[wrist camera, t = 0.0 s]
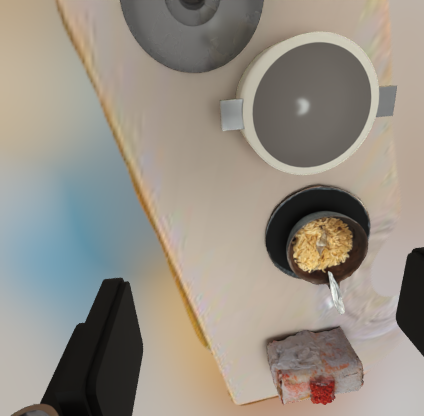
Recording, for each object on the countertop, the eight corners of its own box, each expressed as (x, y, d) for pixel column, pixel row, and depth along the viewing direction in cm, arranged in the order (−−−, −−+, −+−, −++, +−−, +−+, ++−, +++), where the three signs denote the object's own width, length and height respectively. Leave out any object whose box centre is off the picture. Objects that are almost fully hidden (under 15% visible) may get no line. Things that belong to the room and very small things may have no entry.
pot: (212, 46, 36) (217, 39, 29) (371, 33, 36) (412, 23, 30) (220, 165, 41) (226, 183, 35) (359, 153, 42) (390, 167, 35)
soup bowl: (379, 191, 44) (413, 212, 37) (343, 284, 50) (367, 317, 43) (277, 176, 42) (294, 196, 36) (252, 275, 48) (262, 307, 42)
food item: (268, 367, 56) (283, 424, 47) (261, 334, 53) (276, 388, 44) (343, 351, 56) (373, 405, 47) (341, 317, 53) (372, 368, 44)
